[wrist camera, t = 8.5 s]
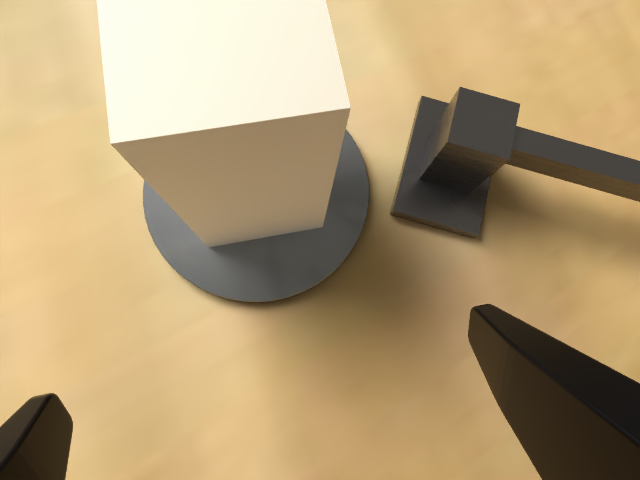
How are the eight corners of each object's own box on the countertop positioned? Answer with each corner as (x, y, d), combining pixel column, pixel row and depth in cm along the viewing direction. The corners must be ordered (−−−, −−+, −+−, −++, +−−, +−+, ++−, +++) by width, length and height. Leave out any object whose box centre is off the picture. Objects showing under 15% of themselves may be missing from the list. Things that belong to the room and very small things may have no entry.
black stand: (790, 328, 20) (928, 325, 15) (390, 214, 20) (415, 179, 16) (792, 208, 21) (919, 174, 17) (418, 102, 21) (449, 42, 17)
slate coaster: (357, 313, 19) (360, 313, 18) (127, 289, 18) (121, 287, 18) (374, 108, 21) (376, 101, 20) (169, 83, 21) (165, 76, 20)
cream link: (322, 227, 19) (350, 107, 9) (208, 247, 18) (110, 143, 9) (303, 132, 20) (310, -66, 10) (194, 149, 19) (92, -43, 10)
